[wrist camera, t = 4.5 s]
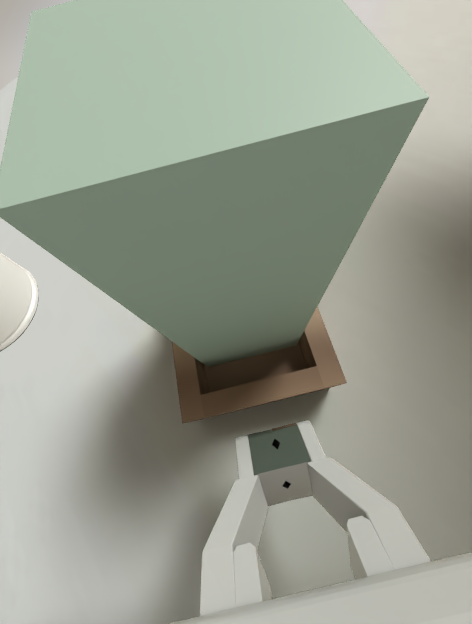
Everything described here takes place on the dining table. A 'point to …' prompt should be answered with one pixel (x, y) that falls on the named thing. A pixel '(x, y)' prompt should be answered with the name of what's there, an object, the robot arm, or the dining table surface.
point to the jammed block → (204, 157)
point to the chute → (257, 375)
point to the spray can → (15, 300)
